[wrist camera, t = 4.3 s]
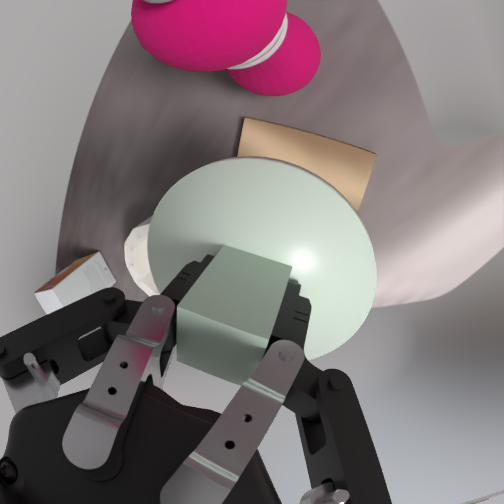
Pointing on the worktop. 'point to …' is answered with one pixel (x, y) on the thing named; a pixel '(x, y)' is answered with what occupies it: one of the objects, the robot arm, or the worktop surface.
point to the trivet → (311, 155)
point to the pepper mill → (231, 40)
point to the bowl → (140, 258)
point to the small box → (75, 282)
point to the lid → (259, 260)
